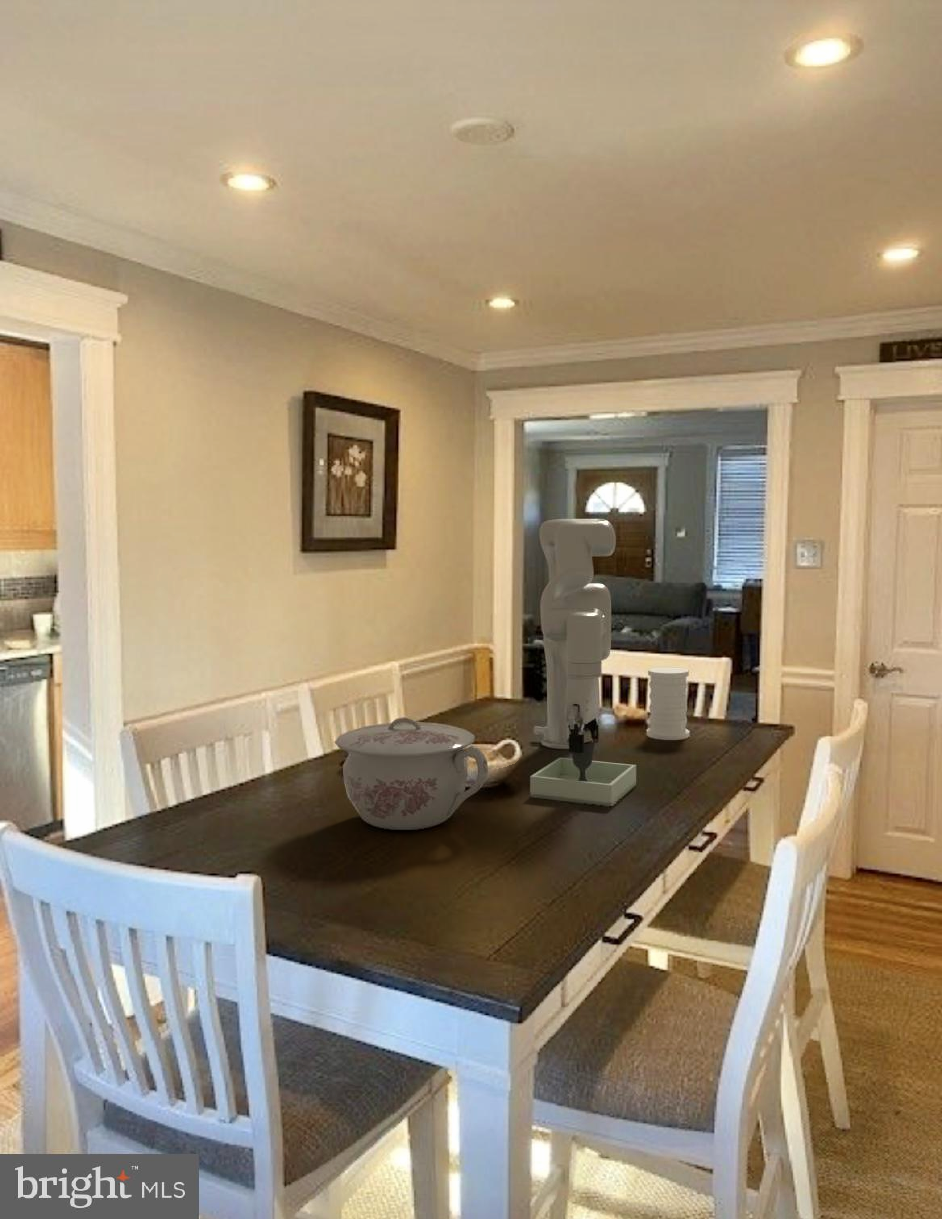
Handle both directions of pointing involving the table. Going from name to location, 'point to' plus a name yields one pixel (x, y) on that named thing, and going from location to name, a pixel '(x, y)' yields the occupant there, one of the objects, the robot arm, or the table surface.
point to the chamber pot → (409, 772)
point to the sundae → (585, 753)
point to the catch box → (583, 782)
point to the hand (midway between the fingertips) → (583, 747)
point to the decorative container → (668, 703)
